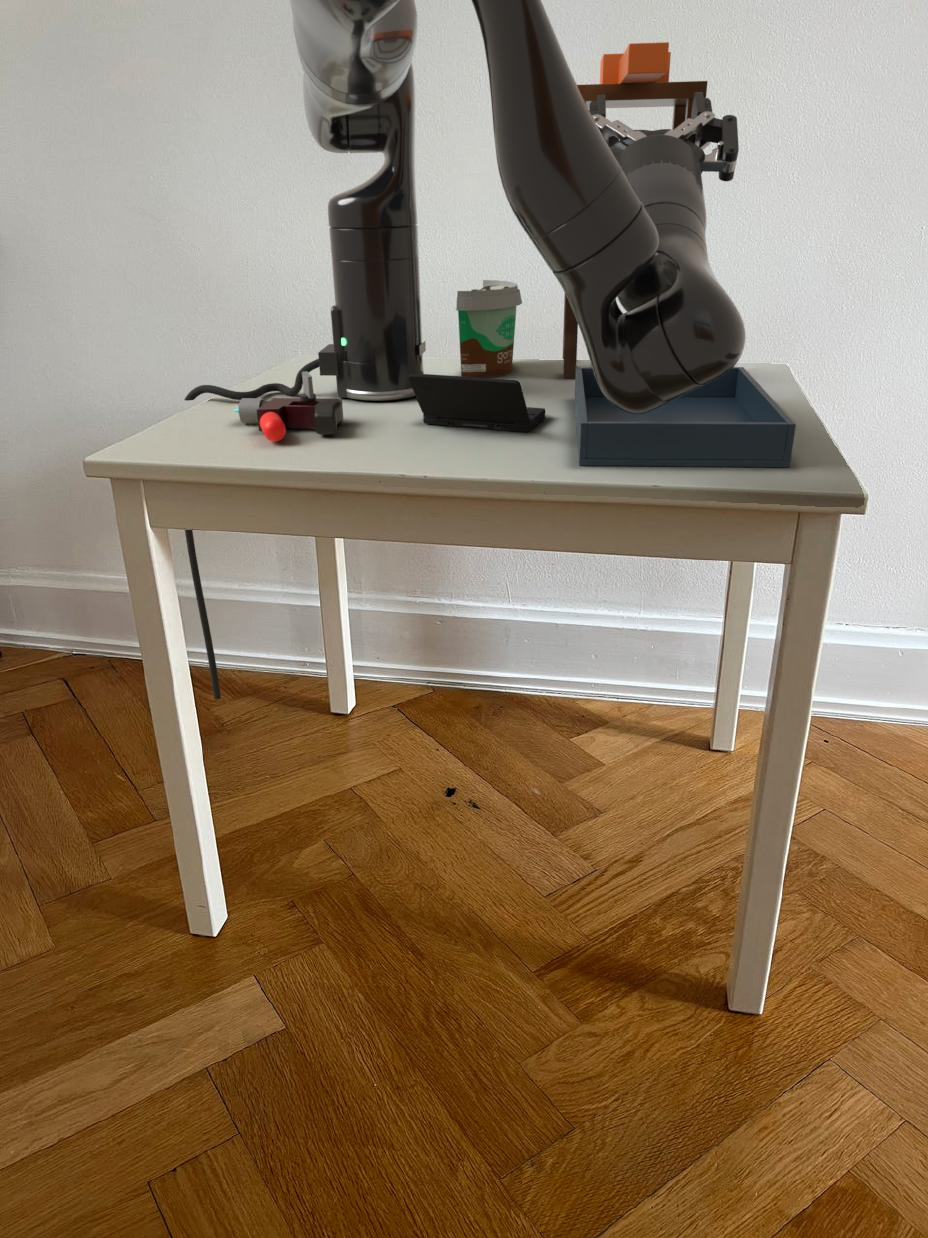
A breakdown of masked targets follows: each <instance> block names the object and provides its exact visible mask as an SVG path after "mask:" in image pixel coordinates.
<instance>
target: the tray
mask: <svg viewBox="0 0 928 1238" xmlns="http://www.w3.org/2000/svg"><path fill="white" fill-rule="evenodd" d="M574 412H575V413H574V414H575V426H576V427H575V428H576V441H577V442H576V443H577V455H578V456H577V457H578V465H579V466H586V467H587V466H588V467H589V466H590V467H591V466H595V467H596V466H598V467H602V466H603V467H605V466H607V467H621V466H622V467H706V468H707V467H711V468H713V467H714V468H715V467H719V468H724V467H725V468H790V466H791V461H792V454H793V448H794V441H795V434H796V427H797V424H796V423H795V421H793V420H792V418H791V417H790V416H789V415H788V414H787V413H786V412H785V410H783V408H782V407H781V406H780V405H779V404H778V402H777V401H775V400H774V399H773V398H772V396H771V395H770V394H769V393H768V392H767V391H766V390H765V389H764V388H763V387H762V386H761V385H760V383H758V381H757V380H756V379H755V378H754V377H753V376H752V375H751V374H750V372H749V371H748V370H746V368H745V367H744V366H734V367H733V368H732V369H731V370H730V371H729V372H727V373H726V374H725V375H723V376H721V377H719V378H717V379H716V380H713V381H711V382H709V383H707V384H705V385H703V386H701V387H699V388H697V389H695V390H693V391H691V392H689V393H687V394H685V395H683V396H681V397H679V398H677V399H675V400H673V401H670V402H669V403H667V404H665V405H663V406H661V407H659V408H657V409H655V410H652V411H650V412H647V413H644V414H632V413H628V412H625V411H623V410H621V409H619V408H617V407H616V406H614V405H613V404H612V403H611V402H610V401H609V400H608V399H607V398H606V397H605V396H604V394H603V393H602V391H601V389H600V387H599V385H598V383H597V380H596V378H595V375H594V372H593V368H592V366H589V367H588V366H582V367H581V366H576V376H575V379H574Z"/></svg>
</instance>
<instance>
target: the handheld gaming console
mask: <svg viewBox="0 0 928 1238" xmlns="http://www.w3.org/2000/svg"><path fill="white" fill-rule="evenodd" d="M409 381H410V384H411V386H412V389H413V391H414V394H415V396H414V397H415V398H416V400H417V401H416V402H417V403H418V405H419V406H418V407H419V408H420V410H421V413H422V417H423V418H422V420H423V424H426V425H437V426H438V425H439V426H448V427H449V426H450V427H462V428H463V427H476V428H477V427H478V428H484V429H488V430H495V431H496V430H498V431H508V432H509V431H510V432H521V433H529V432H530V431H532V429H533V428H535V427H536V426H537V425H538V424H539V423H541V422H542V421H543V420H545V418H546V408H544V407H531V406H527V403H526V399H525V396H524V392H523V388H522V384H521V382H520V381H519V380H516V379H509V378H508V379H507V378H495V377H488V378H478V377H463V376H461V375H446V374H445V375H444V374H430V373H429V374H428V373H424V374H416V373H412V374H410V375H409Z"/></svg>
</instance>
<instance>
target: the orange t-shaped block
mask: <svg viewBox="0 0 928 1238" xmlns="http://www.w3.org/2000/svg"><path fill="white" fill-rule="evenodd" d="M669 46H670V42H669V41H668V42H667V41H666V42H665V41H663V42H661V41H660V42H636V43H635V42H634V43H632V42H631V43H629V44H628V45H627V47H626V49H625V50H624V52H623V53H622V52H621V53H603V55H602V56H601V59H600V69H599V84H620V83H654V82H670V71H671V70H670V68H671V56H672V51H670V50H669V48H670V47H669Z"/></svg>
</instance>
